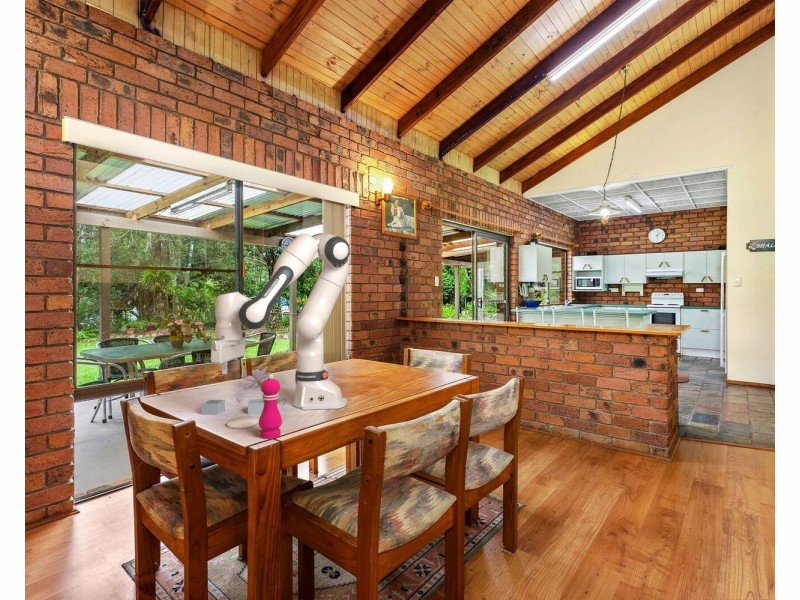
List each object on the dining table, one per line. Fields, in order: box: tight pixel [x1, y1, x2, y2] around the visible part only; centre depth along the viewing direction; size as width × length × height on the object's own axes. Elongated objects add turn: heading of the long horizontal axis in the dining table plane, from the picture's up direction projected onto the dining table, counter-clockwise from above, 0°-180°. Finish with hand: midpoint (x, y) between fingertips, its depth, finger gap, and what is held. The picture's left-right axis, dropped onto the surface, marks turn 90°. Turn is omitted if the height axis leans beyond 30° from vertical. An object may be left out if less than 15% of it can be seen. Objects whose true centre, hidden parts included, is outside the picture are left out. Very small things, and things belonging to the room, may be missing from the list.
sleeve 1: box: [200, 399, 226, 416], centre depth 159 cm, size 6×6×4 cm
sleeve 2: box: [247, 398, 264, 415], centre depth 160 cm, size 6×6×4 cm
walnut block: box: [223, 359, 241, 380], centre depth 152 cm, size 4×4×6 cm
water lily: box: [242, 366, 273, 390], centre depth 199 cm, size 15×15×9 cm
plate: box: [226, 415, 259, 430], centre depth 144 cm, size 10×10×1 cm
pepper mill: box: [258, 373, 283, 440], centre depth 132 cm, size 7×7×20 cm
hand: (228, 372), depth 152 cm, fingers closed on walnut block, 4 cm apart
